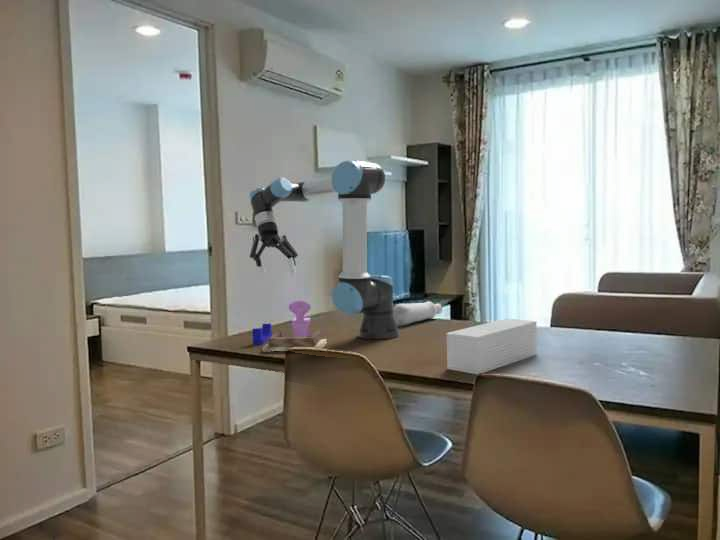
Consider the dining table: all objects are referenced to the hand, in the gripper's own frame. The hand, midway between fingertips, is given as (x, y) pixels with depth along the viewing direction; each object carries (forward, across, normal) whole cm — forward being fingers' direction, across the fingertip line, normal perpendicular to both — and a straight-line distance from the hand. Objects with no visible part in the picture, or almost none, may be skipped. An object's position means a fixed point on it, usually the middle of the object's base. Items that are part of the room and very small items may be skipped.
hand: (278, 274), depth 239 cm
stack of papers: (+60, -24, +65) cm, 92 cm away
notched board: (+32, +6, +8) cm, 34 cm away
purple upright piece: (+26, -5, -3) cm, 26 cm away
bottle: (+25, -61, +4) cm, 66 cm away
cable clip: (+24, +9, -10) cm, 27 cm away
